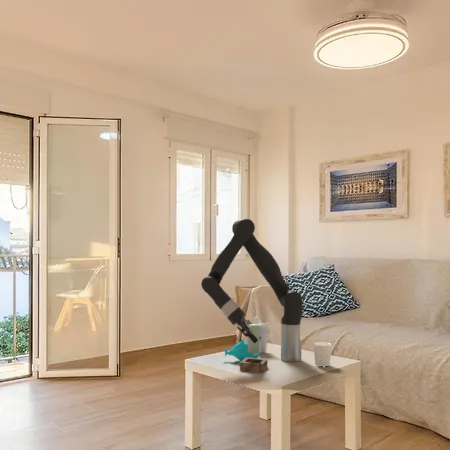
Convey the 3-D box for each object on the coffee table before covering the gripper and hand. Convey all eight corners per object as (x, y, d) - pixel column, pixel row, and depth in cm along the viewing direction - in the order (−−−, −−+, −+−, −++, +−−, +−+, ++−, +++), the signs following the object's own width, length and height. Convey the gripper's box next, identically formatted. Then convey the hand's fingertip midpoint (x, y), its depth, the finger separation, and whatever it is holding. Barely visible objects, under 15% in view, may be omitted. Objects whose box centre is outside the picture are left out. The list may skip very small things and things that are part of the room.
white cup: (331, 364, 224) (331, 342, 224) (331, 368, 216) (331, 345, 217) (314, 362, 226) (314, 341, 226) (313, 366, 218) (313, 344, 219)
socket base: (240, 370, 210) (240, 362, 210) (246, 365, 219) (246, 357, 219) (262, 372, 207) (262, 364, 207) (267, 367, 216) (267, 359, 216)
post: (246, 352, 212) (247, 325, 212) (249, 350, 216) (250, 323, 217) (257, 353, 210) (258, 326, 211) (260, 351, 215) (261, 324, 215)
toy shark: (260, 364, 221) (261, 341, 222) (222, 363, 222) (222, 340, 222) (260, 359, 231) (260, 337, 231) (222, 358, 232) (223, 336, 232)
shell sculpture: (271, 353, 244) (271, 318, 245) (255, 354, 242) (256, 318, 243) (266, 350, 252) (266, 315, 253) (251, 350, 250) (251, 316, 251)
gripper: (234, 308, 210) (260, 338, 205) (242, 304, 223) (267, 332, 219) (222, 319, 211) (248, 349, 207) (231, 315, 225) (256, 343, 220)
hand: (257, 340), depth 213 cm, fingers closed on post, 5 cm apart
